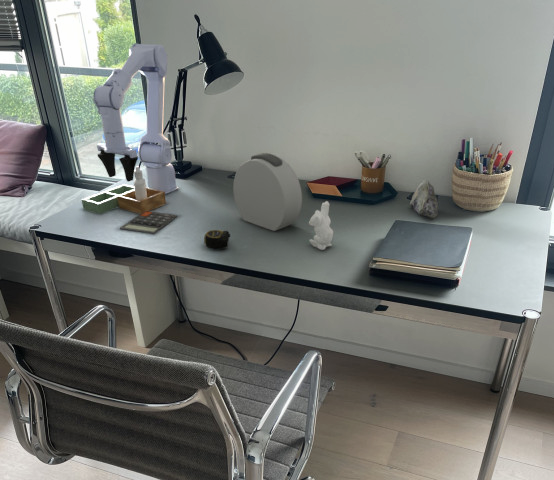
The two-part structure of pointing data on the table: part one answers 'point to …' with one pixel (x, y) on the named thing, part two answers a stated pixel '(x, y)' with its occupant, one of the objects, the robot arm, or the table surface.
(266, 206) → the alarm clock
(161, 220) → the calculator
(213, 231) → the tape measure
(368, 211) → the table surface
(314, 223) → the white bunny figurine
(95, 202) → the green divided tray
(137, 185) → the eye dropper bottle
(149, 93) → the robot arm
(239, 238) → the table surface
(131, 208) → the open wooden box
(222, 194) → the table surface
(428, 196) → the mineral rock
